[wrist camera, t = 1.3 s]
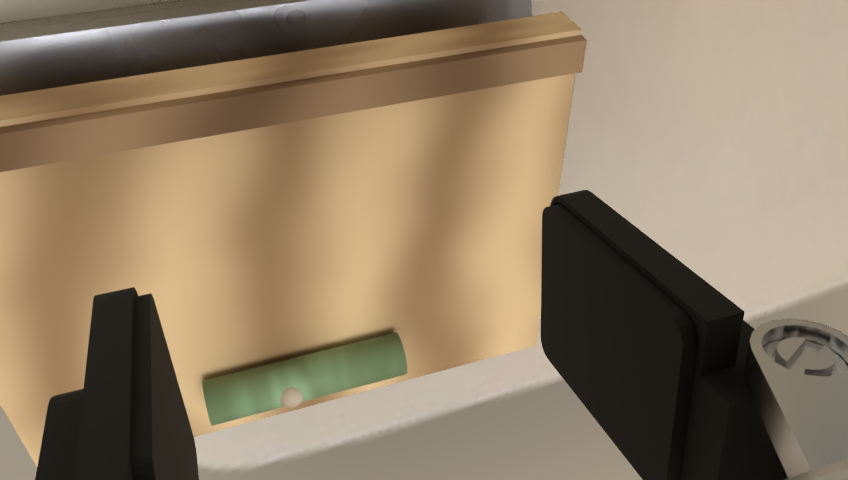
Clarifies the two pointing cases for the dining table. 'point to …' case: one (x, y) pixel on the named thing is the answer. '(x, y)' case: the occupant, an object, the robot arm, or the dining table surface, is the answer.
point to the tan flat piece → (287, 216)
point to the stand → (214, 34)
